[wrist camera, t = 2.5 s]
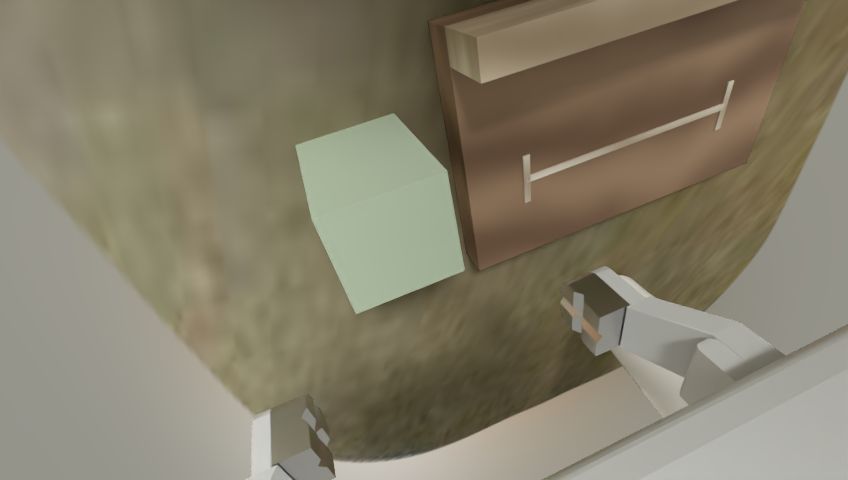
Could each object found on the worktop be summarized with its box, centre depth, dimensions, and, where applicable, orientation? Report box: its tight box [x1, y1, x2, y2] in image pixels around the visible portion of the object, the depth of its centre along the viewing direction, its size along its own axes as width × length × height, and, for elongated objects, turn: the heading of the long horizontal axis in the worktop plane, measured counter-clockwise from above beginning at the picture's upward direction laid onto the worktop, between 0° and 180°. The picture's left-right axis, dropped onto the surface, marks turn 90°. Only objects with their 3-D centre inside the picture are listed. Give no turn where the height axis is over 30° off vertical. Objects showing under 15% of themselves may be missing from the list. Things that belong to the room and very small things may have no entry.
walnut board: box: [428, 0, 806, 271], centre depth 21 cm, size 14×21×5 cm, turn 102°
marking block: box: [295, 113, 465, 314], centre depth 18 cm, size 6×5×7 cm
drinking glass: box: [611, 275, 688, 418], centre depth 29 cm, size 7×7×15 cm
